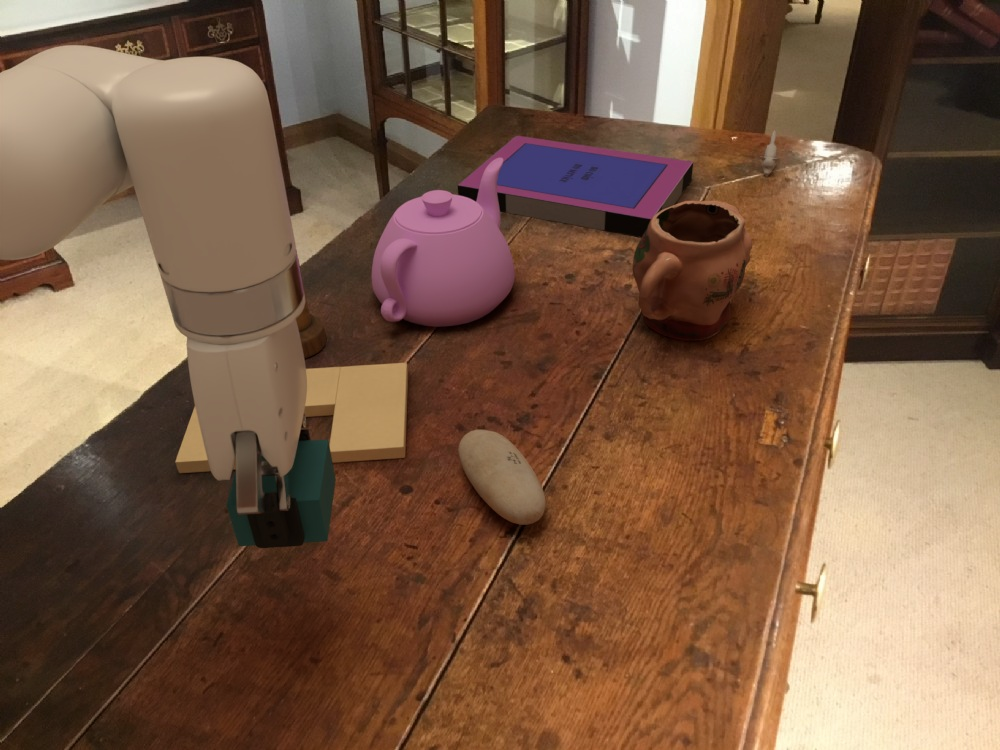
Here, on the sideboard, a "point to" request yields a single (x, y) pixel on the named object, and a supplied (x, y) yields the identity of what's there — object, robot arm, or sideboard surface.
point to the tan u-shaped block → (339, 414)
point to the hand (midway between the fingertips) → (287, 505)
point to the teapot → (444, 258)
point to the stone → (502, 476)
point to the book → (583, 184)
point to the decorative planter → (691, 268)
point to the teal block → (298, 493)
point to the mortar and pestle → (310, 331)
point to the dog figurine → (770, 156)
